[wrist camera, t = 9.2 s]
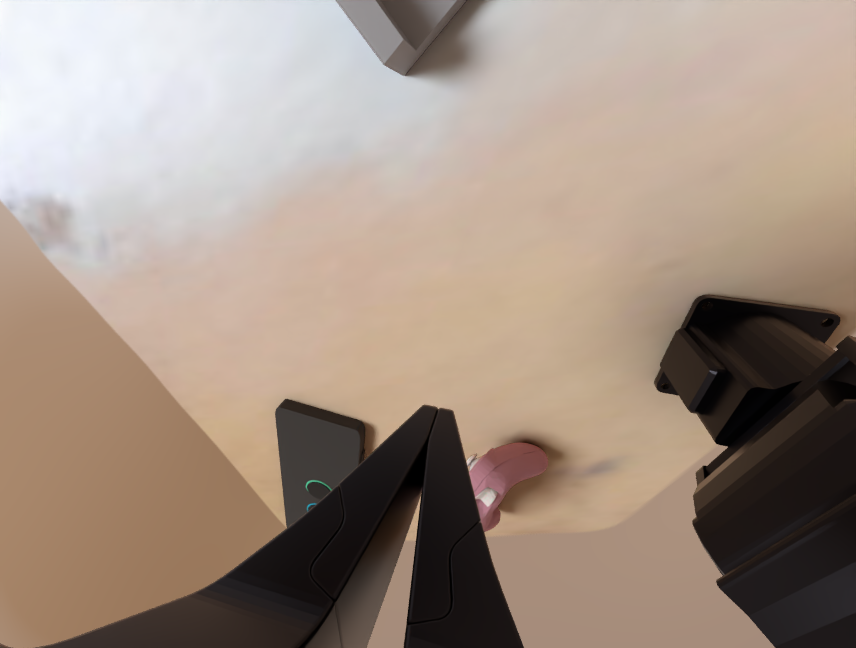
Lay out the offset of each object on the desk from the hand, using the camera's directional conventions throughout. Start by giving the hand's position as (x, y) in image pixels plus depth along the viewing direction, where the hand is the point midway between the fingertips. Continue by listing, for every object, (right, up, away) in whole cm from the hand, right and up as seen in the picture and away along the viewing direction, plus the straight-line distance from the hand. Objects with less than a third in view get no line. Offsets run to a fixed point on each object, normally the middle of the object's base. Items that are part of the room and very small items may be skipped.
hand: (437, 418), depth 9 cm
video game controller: (+5, -9, +19) cm, 22 cm away
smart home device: (-11, -13, +26) cm, 31 cm away
